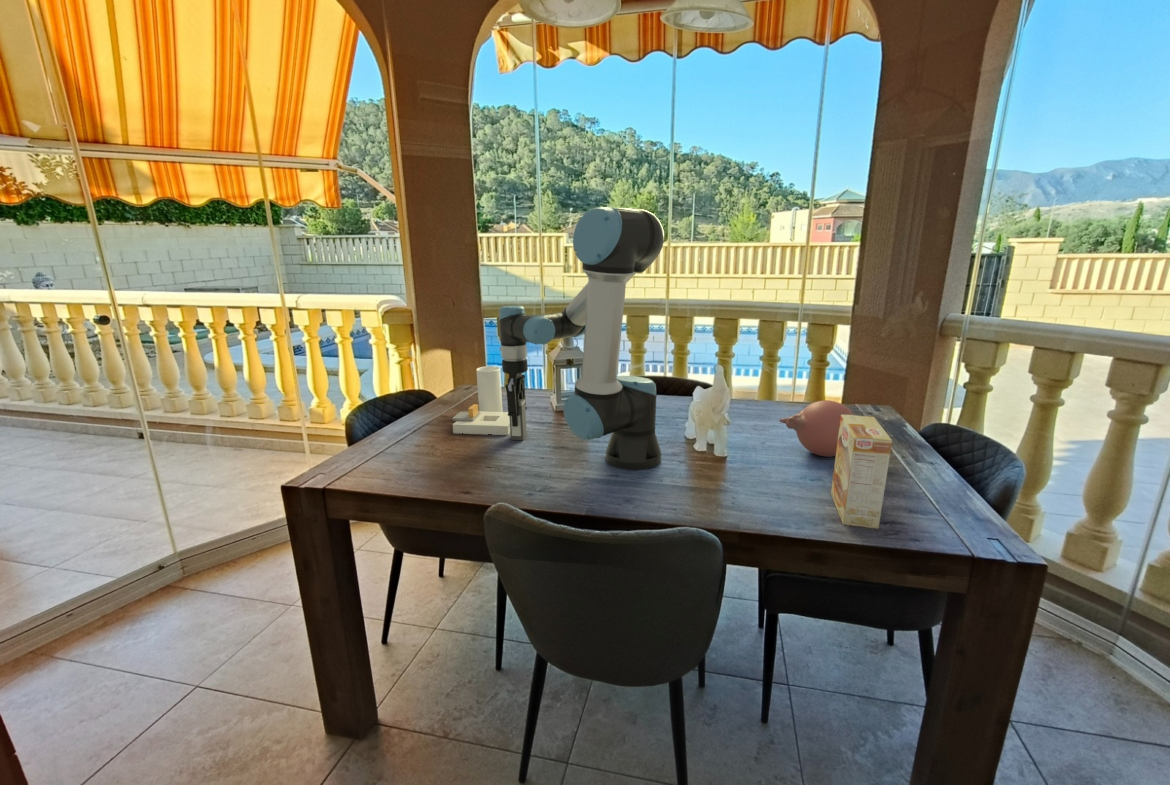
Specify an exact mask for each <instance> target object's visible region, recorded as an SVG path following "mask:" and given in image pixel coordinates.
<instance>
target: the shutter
mask: <svg viewBox="0 0 1170 785" xmlns="http://www.w3.org/2000/svg"><path fill="white" fill-rule="evenodd" d="M467 410H468V411H459V412H457V413H456V415H454V416H453V417H452V418H451V419H452V421H455V422H456V421H474V420H475V419H476V418H477V417H478V416H479V415H480V412H478V411H479V403H478V404H472V405H471V406H469V407H468V409H467Z"/></svg>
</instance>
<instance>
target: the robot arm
mask: <svg viewBox="0 0 1170 785" xmlns="http://www.w3.org/2000/svg"><path fill="white" fill-rule="evenodd" d="M573 231H574V232H573V236H572V246H573V251H575V252H576V253H575V256H576V258H577V259H578V260H579V261H580V262H582V271H583V272H584V273H585V274H586V276H587V278H588V280H587V283H586V284H585V285H584V287H582V288H581V290H580V291H579V292H578V293H577V294H576V296H575V297H574V298H573V299H572V300H571V301H570V302H569V304H568V305H567V306H566V307H564V309H563V310H562V311H559V312H552V313H543V314H535V315H534V314H533V315H531V314H527V313H526V310H525V309H526V308H525V307H524V306H523V305H503V306H501V307H500V308H499V310H498V323H499V338H500V347H499V351H501V352H500V353H501V358H502V360H501V367H502V368H501V371H502V372H503V373H504V374H507V375H508V378H507V384H505V391H506V402H507V412H508V416H511V428H512V436H521V422H520V415H519V399H525V411H526V410H527V409H528V407H527V403H526V375H525V374H523V373H526V372H528V371H529V369H528V368H529V367H528V366H529V364H528V359H527V358H528V347H527V343H529V344H530V343H531V344H533V345H536V346H537V345H547V344H549V343H550V342H551V341H556V340H560V339H569V338H577V337H579V336H582V335H584V338H583V352H582V366H581V367H582V368H581V369H582V370H581V377H579V378H578V379H577V380H576V381H575V382H574V394H571V395H569V396H568V397H567V399H565V400H564V403H563V415H564V420H565V423H566V425H567V426H568V428H569V429H570V431H571V432H572V433H573V434H574V435H575V436H576V437H577V438H580V439H581V440H584V441H590V440H595V439H600V438H602V437H604V436H607V435H610V434H611V435H610V438H609V440H608V444H607V447H606V450H605V461H606V463H608V465H610V466H612V467H615V468H617V469H622V470H628V471H643V470H648V469H651V468H654V467H657V466H658V465H660V464H661V461H662V451H661V448H660V444H659V441H658V439H657V435H656V434H657V433H656V421H657V420H656V418H657V415H656V414H657V396H658V395H657V385H656V383H655V382H654V380H652V379H650V378H646V377H641V376H636V375H635V376H633V375H618V372H619V370H618V369H619V361H620V352H621V351H620V350H621V339H622V338H621V337H622V329H623V328H622V327H623V318H624V309H625V297H626V287H627V283H628V282H630V281H631V279H632V278H633V277H634V276H635V275H636V274H642V273H645V271H646V270H647V269H648V268H649V267H650V266H651V265H652V264H653V263H654V262H655V261H656V259H657V258H658V257H659V255H660V253H661V251H662V249H663V246H664V241H665V231H664V227H663V225H662V223H661V222H660V220H659V218H658V217H657V216H656V215H655V214H654V213H653V212H650V211H648V210H646V209H640V208H623V207H621V208H620V207H612V206H604V207H602V206H601V207H600V206H599V207H592V208H590V209H588V210H587V211H585V213H583V215H582V216H581V217H579V219H578V221H577V223H576V225H575V227H574V230H573Z"/></svg>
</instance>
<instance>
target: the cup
mask: <svg viewBox="0 0 1170 785" xmlns="http://www.w3.org/2000/svg"><path fill="white" fill-rule="evenodd" d="M475 370H476V382H477V383H476V384H477V385H476V386H477V398H478V399H477V400H478V411H485V412H504V411H503V398H502V395H503V394H502V380H501V367H499V366H495V365H494V366H493V365H490V366H487V365H486V366H481V367H477V368H476V369H475Z"/></svg>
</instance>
